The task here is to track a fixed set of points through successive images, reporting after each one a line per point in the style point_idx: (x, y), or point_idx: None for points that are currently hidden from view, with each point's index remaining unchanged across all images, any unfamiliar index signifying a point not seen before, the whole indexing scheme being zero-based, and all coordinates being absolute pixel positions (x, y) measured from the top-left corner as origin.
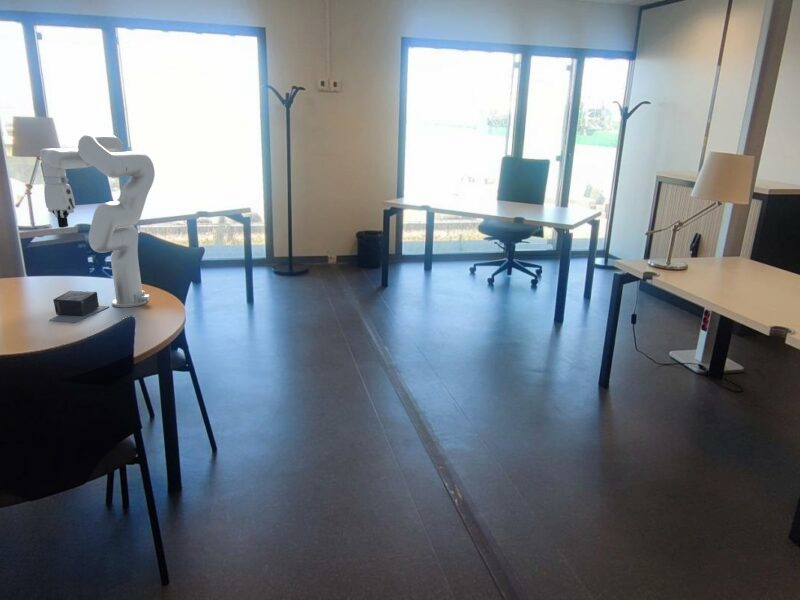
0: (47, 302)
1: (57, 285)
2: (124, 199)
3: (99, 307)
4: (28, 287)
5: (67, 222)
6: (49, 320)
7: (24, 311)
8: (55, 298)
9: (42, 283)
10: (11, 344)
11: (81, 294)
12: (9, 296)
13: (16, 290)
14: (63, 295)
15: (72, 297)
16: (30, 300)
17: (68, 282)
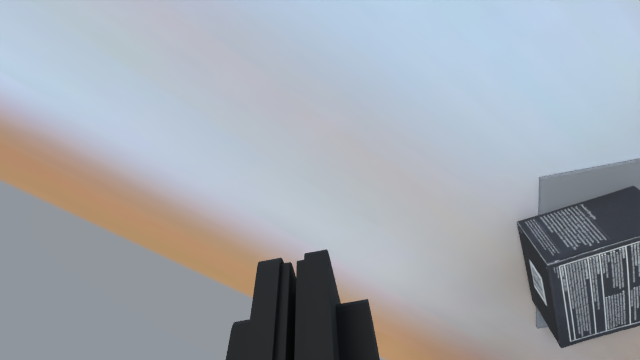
0: (357, 217)
1: (122, 14)
2: None
3: (632, 181)
4: (41, 113)
5: (370, 323)
6: (539, 325)
7: (376, 307)
8: (562, 340)
9: (8, 26)
10: None
11: (635, 274)
12: (135, 233)
13: (55, 169)
14: (568, 311)
15: (621, 309)
16: (268, 229)
17: None
